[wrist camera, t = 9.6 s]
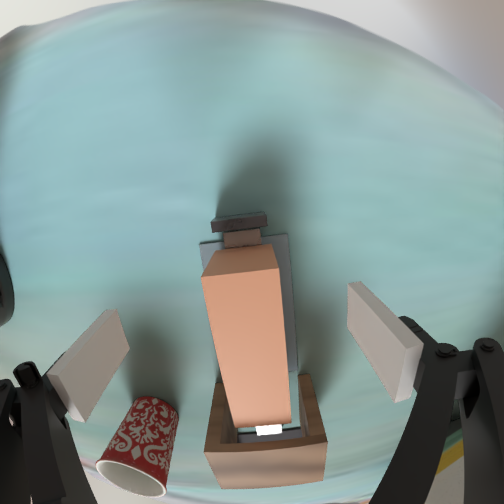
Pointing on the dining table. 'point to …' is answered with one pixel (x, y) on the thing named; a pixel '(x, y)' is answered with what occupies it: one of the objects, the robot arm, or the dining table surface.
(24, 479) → the robot arm
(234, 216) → the track
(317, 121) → the dining table surface
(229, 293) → the block
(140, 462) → the mug
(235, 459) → the open box
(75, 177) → the dining table surface
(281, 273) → the pad
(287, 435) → the dark grey tray
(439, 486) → the planter
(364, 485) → the dining table surface
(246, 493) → the dining table surface
